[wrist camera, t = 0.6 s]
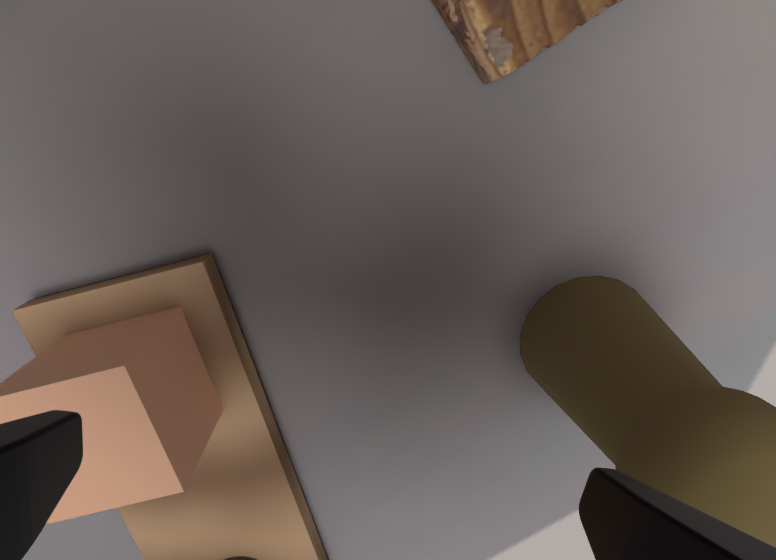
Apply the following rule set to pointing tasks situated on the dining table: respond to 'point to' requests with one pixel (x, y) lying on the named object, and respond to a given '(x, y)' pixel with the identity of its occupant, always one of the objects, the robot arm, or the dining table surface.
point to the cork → (654, 402)
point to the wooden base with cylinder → (231, 434)
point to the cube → (123, 408)
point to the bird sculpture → (512, 29)
